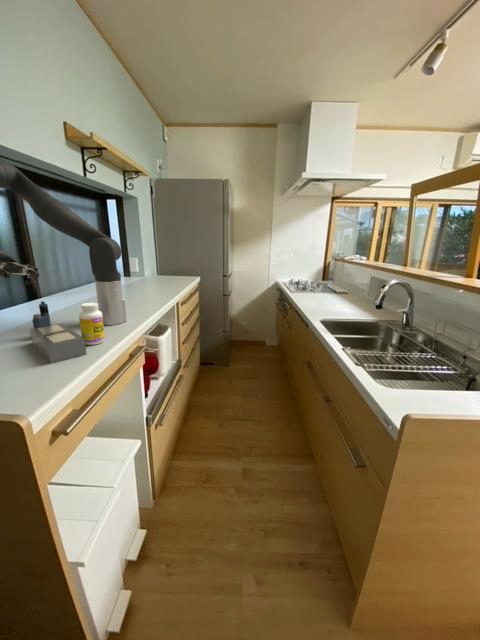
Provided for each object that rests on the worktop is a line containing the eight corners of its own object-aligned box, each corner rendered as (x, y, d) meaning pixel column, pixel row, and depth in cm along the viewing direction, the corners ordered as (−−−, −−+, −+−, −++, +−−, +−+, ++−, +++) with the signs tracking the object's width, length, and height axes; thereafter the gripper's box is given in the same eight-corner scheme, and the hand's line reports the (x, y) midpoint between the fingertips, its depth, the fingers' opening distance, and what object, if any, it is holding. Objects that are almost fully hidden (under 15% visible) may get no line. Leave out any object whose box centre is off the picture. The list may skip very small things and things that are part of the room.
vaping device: (54, 334, 94) (49, 301, 91) (39, 339, 89) (33, 304, 86) (49, 333, 95) (43, 300, 92) (33, 338, 90) (27, 303, 87)
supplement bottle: (95, 346, 85) (91, 307, 82) (77, 344, 87) (72, 305, 83) (109, 339, 92) (105, 302, 88) (92, 337, 93) (88, 301, 89)
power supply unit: (64, 337, 92) (61, 322, 91) (86, 354, 80) (84, 337, 78) (31, 343, 86) (29, 328, 84) (50, 363, 73) (47, 345, 72)
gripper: (-28, 250, 90) (-3, 264, 85) (21, 253, 103) (46, 265, 97) (-28, 271, 93) (-3, 287, 87) (20, 272, 105) (45, 285, 99)
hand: (23, 275), depth 92 cm, fingers open, 8 cm apart
